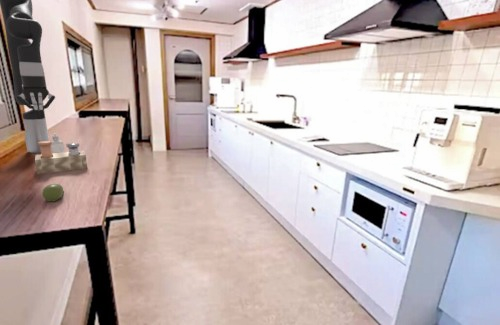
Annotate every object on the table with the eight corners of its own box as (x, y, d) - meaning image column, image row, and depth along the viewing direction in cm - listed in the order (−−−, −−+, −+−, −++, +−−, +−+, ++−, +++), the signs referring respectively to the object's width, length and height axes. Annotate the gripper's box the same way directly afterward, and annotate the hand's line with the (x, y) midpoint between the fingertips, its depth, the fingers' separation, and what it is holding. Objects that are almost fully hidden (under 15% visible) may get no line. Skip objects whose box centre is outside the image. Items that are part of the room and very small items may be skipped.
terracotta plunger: (41, 167, 119) (37, 144, 117) (41, 164, 123) (37, 141, 120) (55, 165, 122) (51, 143, 119) (55, 163, 126) (51, 140, 123)
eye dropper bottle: (64, 158, 141) (60, 134, 137) (50, 158, 139) (46, 134, 135) (66, 155, 145) (62, 132, 141) (53, 156, 143) (49, 132, 139)
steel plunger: (70, 168, 125) (66, 145, 122) (69, 165, 129) (66, 143, 126) (82, 166, 128) (79, 144, 125) (81, 163, 132) (78, 142, 129)
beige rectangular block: (37, 174, 117) (34, 160, 116) (38, 168, 125) (35, 155, 123) (87, 168, 127) (85, 154, 125) (85, 162, 134) (83, 150, 133)
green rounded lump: (38, 187, 90) (46, 182, 99) (41, 204, 91) (48, 197, 100) (59, 185, 92) (65, 180, 101) (61, 201, 93) (67, 195, 102)
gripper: (53, 75, 119) (59, 117, 124) (12, 74, 111) (20, 118, 116) (53, 75, 113) (60, 119, 118) (10, 74, 105) (19, 121, 110)
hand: (40, 119), depth 117 cm, fingers closed
